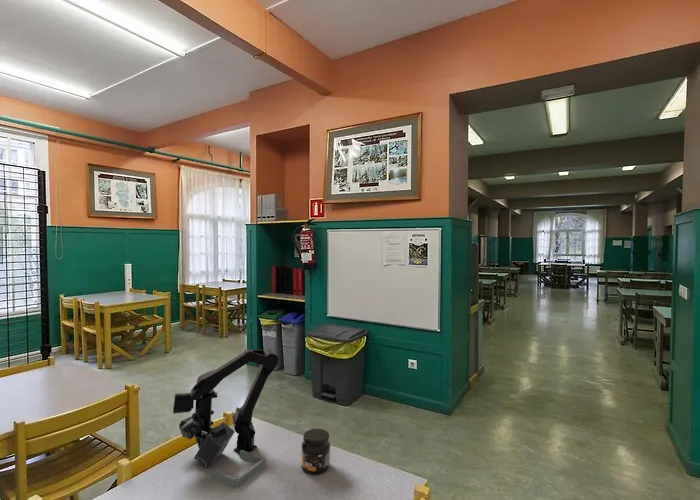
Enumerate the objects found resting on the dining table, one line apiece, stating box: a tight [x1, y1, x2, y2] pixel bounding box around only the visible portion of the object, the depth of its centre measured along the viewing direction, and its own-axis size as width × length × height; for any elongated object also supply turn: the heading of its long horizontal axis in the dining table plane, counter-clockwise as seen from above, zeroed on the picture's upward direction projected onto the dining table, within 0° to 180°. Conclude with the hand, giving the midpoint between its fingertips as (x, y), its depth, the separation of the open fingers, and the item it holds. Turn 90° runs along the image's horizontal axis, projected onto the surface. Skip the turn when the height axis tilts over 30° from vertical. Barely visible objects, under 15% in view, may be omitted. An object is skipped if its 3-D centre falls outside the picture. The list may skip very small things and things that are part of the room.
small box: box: [193, 422, 236, 469], centre depth 133 cm, size 11×6×10 cm, turn 168°
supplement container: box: [300, 428, 331, 476], centre depth 131 cm, size 10×10×12 cm
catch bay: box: [210, 450, 267, 490], centre depth 127 cm, size 15×12×2 cm
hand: (201, 451), depth 135 cm, fingers closed
